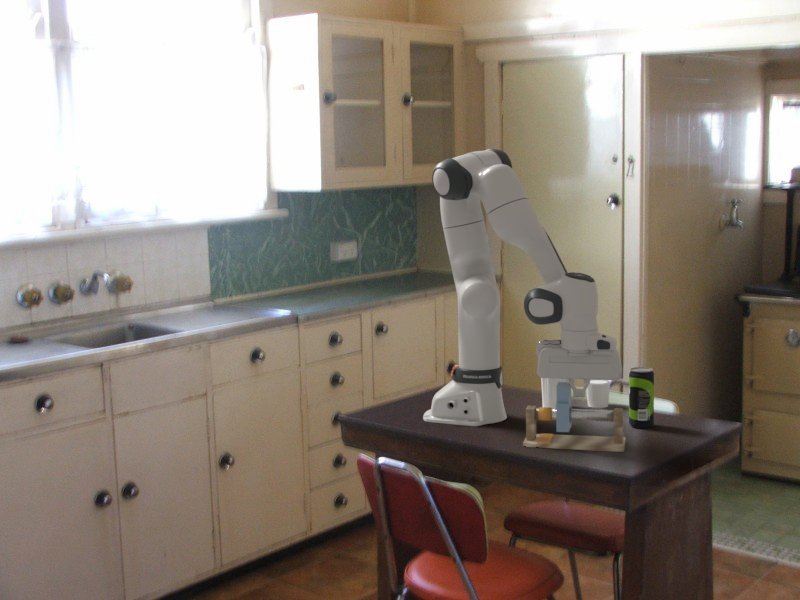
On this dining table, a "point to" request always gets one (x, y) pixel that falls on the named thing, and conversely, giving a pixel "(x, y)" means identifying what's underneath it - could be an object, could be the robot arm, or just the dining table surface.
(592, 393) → the small white cup
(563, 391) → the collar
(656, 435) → the dining table surface
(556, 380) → the cup
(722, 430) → the dining table surface
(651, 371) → the beverage can
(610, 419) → the pipe stand
